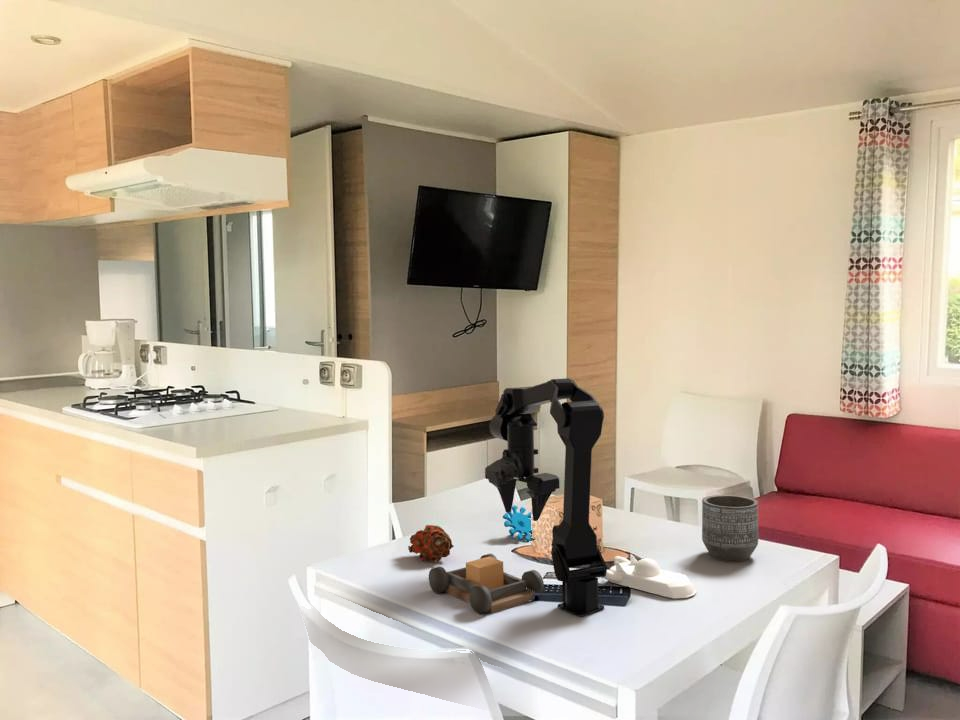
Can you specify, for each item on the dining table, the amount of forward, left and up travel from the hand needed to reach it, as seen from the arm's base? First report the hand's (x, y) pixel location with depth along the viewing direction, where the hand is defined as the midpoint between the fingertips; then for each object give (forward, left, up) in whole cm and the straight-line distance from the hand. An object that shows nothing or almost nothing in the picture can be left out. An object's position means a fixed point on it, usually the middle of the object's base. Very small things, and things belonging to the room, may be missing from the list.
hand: (521, 516), depth 175 cm
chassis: (-6, +15, -12) cm, 20 cm away
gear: (+19, -16, -12) cm, 28 cm away
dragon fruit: (+20, +11, -12) cm, 26 cm away
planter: (-23, -42, -12) cm, 49 cm away
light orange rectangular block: (-6, +15, -10) cm, 19 cm away
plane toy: (-24, -13, -12) cm, 30 cm away
